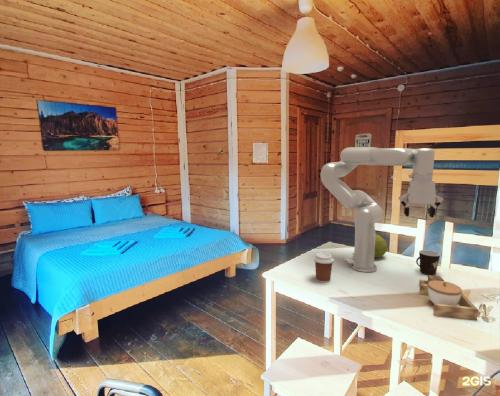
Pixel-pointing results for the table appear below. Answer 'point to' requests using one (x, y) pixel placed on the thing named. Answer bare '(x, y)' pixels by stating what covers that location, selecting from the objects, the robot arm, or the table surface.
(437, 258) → the coffee mug
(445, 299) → the lidded jar
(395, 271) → the table surface
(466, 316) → the holder
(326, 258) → the coffee cup
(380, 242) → the fruit
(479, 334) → the table surface
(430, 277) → the walnut block
